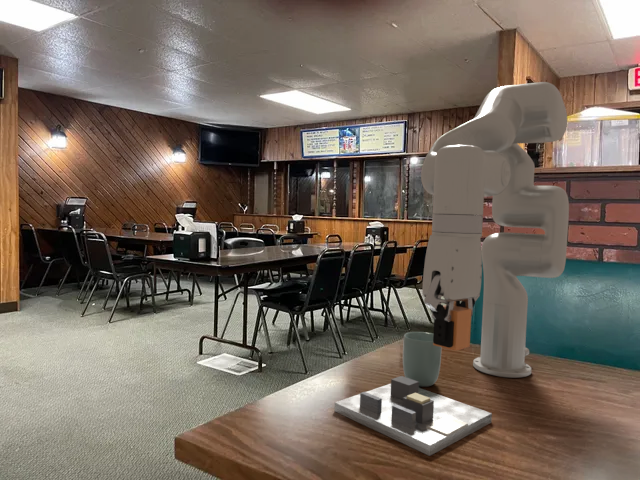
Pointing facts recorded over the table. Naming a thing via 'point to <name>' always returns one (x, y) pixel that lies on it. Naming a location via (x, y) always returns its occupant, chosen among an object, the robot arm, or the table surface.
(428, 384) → the cup
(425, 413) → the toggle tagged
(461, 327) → the cap
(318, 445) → the table surface
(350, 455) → the table surface
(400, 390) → the toggle
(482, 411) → the panel
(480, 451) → the table surface
